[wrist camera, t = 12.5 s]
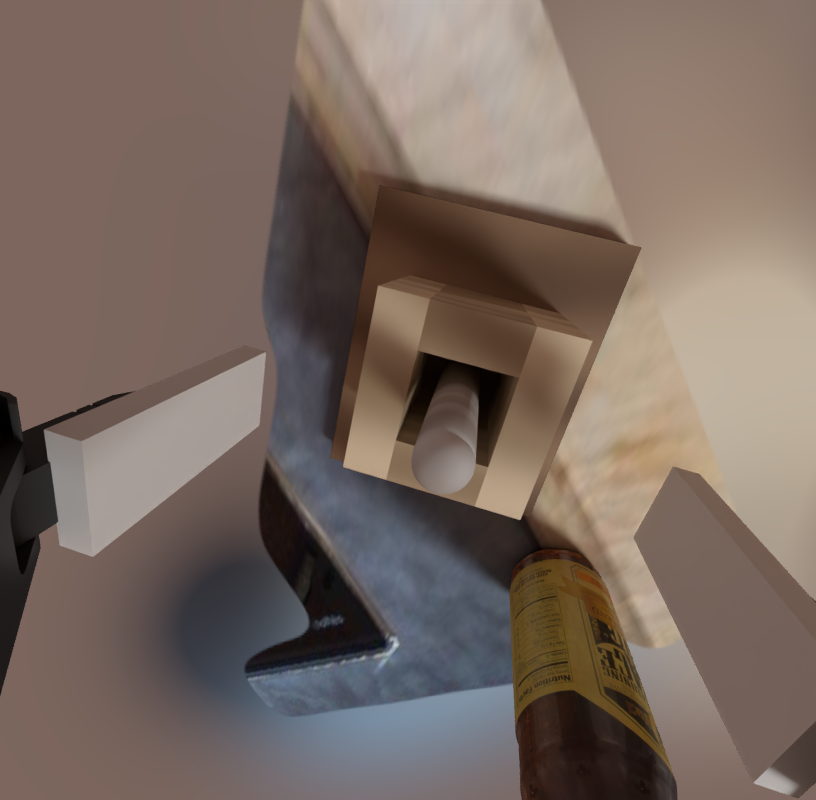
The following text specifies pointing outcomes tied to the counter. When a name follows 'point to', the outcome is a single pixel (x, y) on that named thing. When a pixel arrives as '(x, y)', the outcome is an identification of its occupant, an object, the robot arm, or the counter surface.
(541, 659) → the sauce bottle
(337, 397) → the counter surface
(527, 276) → the rod stand
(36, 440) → the robot arm
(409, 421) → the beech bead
